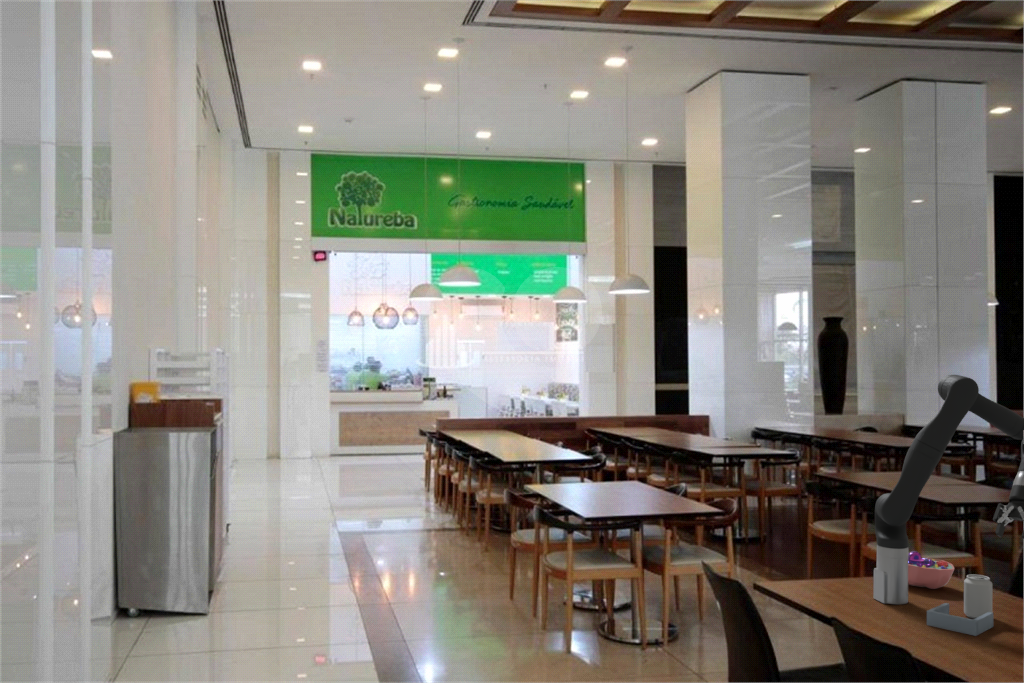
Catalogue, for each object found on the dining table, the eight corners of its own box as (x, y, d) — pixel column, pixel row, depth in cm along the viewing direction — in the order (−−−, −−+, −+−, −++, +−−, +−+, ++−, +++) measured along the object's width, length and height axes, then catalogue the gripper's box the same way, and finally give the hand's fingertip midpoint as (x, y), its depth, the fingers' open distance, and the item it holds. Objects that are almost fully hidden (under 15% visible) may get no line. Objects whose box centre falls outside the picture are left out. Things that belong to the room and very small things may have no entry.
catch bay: (945, 616, 272) (945, 602, 272) (993, 626, 262) (993, 612, 262) (926, 624, 263) (926, 610, 263) (975, 635, 253) (976, 621, 253)
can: (995, 621, 267) (995, 580, 267) (967, 619, 269) (968, 578, 269) (987, 614, 274) (988, 574, 275) (960, 612, 276) (960, 572, 276)
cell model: (932, 597, 293) (932, 561, 293) (881, 583, 311) (881, 549, 311) (967, 591, 301) (967, 556, 301) (915, 577, 319) (915, 545, 319)
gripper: (997, 482, 288) (982, 529, 283) (1040, 485, 275) (1025, 534, 271) (1012, 493, 291) (998, 540, 286) (1055, 496, 278) (1041, 545, 273)
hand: (1011, 537), depth 278 cm, fingers open, 8 cm apart
